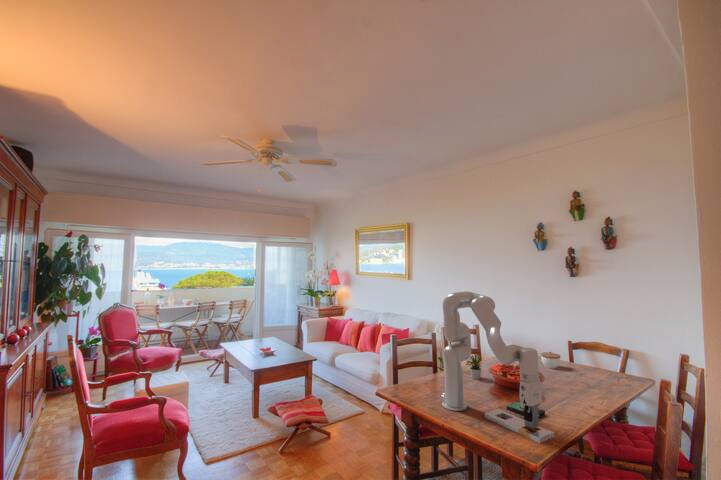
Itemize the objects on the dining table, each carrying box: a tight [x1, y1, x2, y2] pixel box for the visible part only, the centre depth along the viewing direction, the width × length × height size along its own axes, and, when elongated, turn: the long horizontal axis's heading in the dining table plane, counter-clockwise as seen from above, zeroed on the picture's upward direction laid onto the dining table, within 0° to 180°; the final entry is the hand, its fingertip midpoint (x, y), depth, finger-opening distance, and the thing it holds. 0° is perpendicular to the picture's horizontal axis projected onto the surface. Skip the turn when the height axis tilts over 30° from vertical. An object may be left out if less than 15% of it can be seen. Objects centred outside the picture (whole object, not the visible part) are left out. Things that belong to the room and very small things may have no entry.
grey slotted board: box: [484, 408, 555, 444], centre depth 156 cm, size 28×10×2 cm, turn 30°
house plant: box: [465, 352, 484, 380], centre depth 226 cm, size 14×14×16 cm
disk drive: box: [505, 400, 546, 419], centre depth 172 cm, size 10×3×15 cm
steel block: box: [523, 404, 540, 429], centre depth 151 cm, size 4×4×10 cm
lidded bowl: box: [540, 351, 561, 370], centre depth 248 cm, size 13×13×11 cm
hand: (531, 419), depth 151 cm, fingers closed on steel block, 4 cm apart
